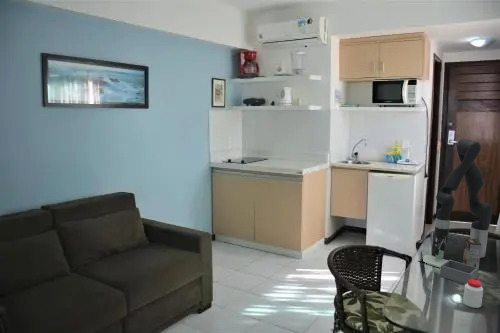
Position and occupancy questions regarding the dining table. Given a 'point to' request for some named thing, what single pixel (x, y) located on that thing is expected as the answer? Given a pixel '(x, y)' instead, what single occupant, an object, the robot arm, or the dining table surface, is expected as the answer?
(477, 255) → the coffee box
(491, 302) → the dining table surface
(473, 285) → the pill bottle
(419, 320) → the dining table surface
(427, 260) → the snap lid
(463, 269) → the parts tub
